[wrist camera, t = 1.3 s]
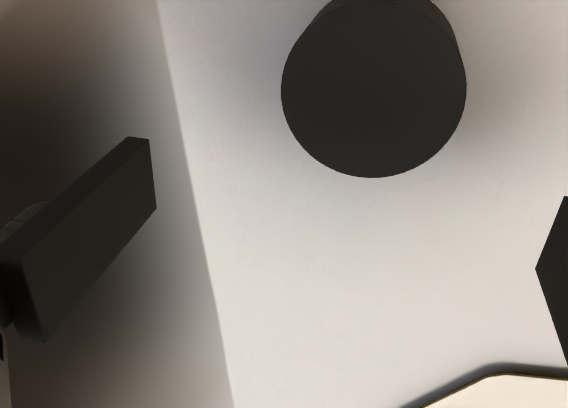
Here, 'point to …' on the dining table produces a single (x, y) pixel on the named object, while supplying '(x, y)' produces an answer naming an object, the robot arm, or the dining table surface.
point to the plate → (508, 393)
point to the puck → (374, 86)
